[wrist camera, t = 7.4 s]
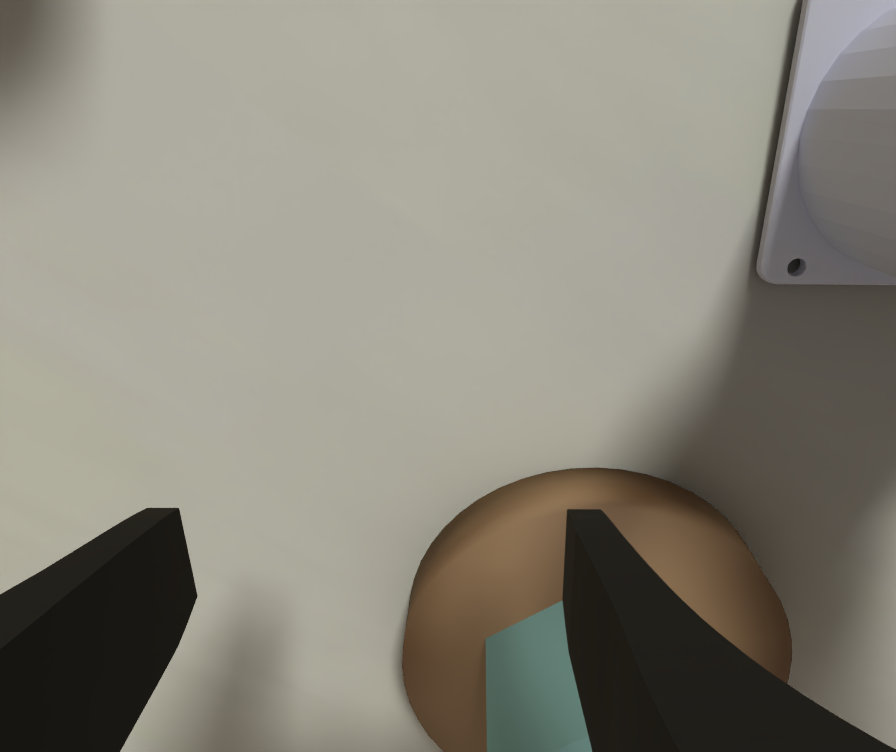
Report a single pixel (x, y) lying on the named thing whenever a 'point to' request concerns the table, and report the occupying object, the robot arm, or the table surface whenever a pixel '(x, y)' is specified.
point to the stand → (541, 583)
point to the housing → (533, 688)
